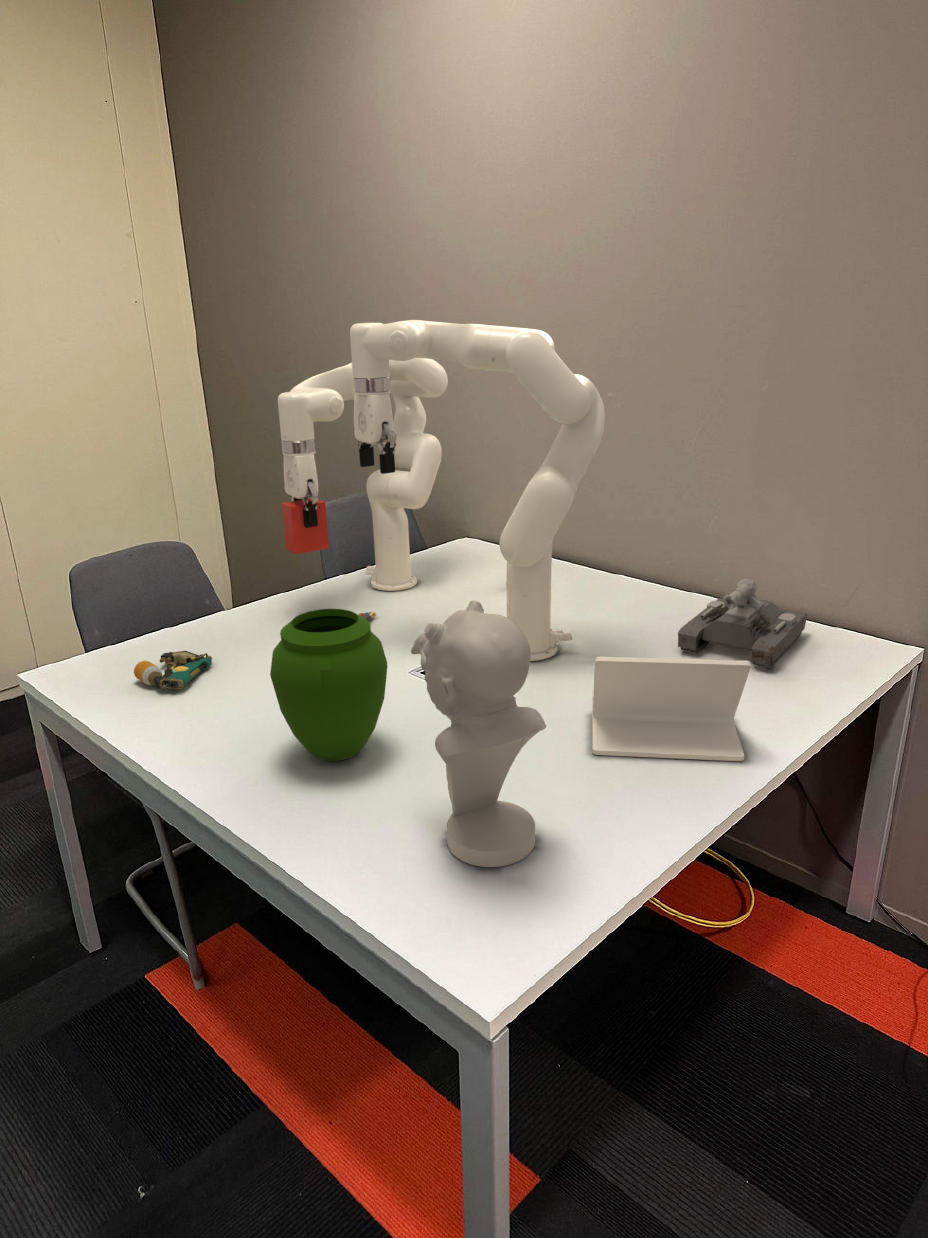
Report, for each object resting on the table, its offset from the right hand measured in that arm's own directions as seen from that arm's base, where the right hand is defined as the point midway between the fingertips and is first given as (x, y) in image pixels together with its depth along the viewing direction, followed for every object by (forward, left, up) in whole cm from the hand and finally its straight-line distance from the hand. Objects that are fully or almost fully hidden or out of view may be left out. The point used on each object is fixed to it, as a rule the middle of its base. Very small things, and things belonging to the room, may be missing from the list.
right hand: (377, 469), depth 181 cm
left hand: (+16, -21, -16) cm, 30 cm away
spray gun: (+46, +6, -40) cm, 61 cm away
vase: (+16, +47, -40) cm, 64 cm away
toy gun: (+9, -11, -40) cm, 42 cm away
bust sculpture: (-1, +77, -40) cm, 86 cm away
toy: (-75, +23, -40) cm, 88 cm away
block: (+16, -21, -22) cm, 34 cm away
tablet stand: (-41, +56, -40) cm, 80 cm away
